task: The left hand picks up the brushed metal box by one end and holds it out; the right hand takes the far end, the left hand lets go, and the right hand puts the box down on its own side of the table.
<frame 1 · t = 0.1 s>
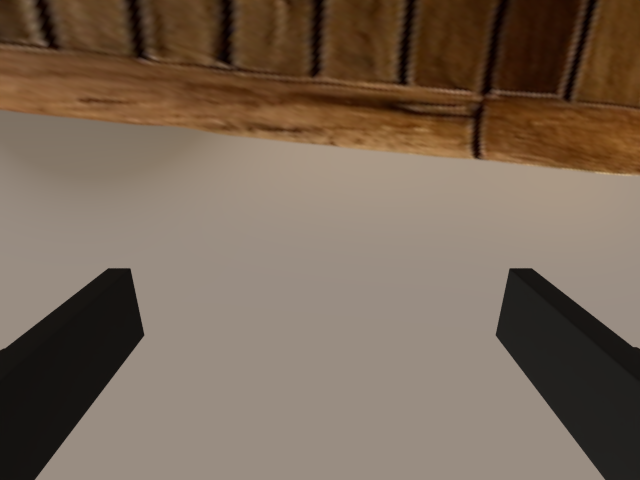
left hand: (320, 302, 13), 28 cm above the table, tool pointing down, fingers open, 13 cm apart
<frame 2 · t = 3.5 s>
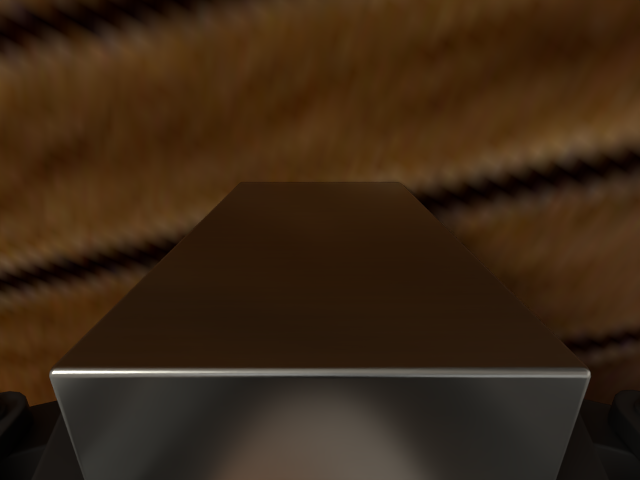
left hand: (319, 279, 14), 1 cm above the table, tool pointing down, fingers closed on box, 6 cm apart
box: (320, 412, 18), on the table, touching left hand
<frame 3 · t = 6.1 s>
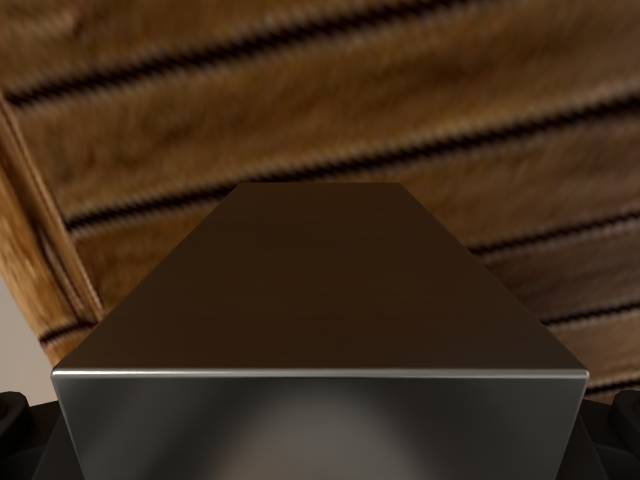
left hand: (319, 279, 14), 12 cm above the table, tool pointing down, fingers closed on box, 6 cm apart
box: (320, 412, 18), point 11 cm above the table, touching left hand
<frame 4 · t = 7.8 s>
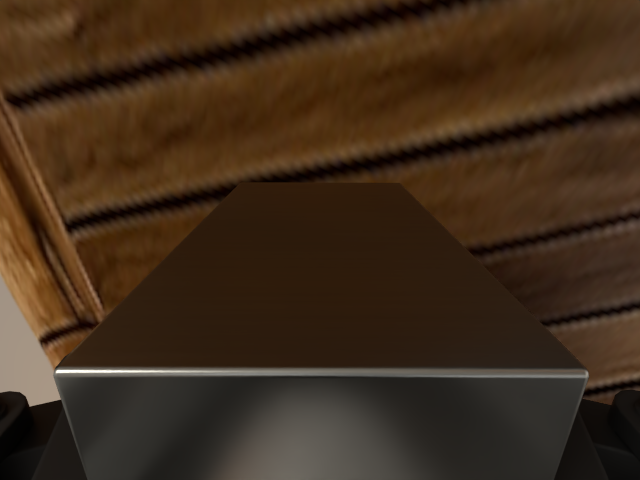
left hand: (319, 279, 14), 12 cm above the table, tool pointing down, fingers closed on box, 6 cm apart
box: (319, 412, 18), point 11 cm above the table, touching left hand, right hand
when the left hand's fingers open (12 cm above the table, at t = 9.0 s): box stays where it is, held by the right hand.
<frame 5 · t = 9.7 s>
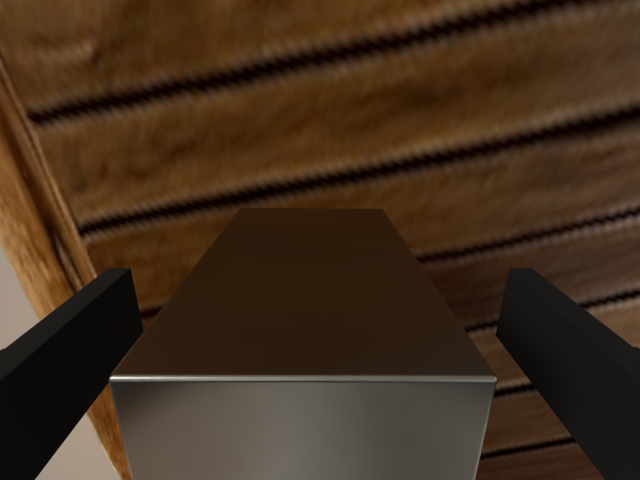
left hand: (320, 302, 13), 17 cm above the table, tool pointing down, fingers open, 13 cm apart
box: (310, 416, 19), point 13 cm above the table, touching right hand
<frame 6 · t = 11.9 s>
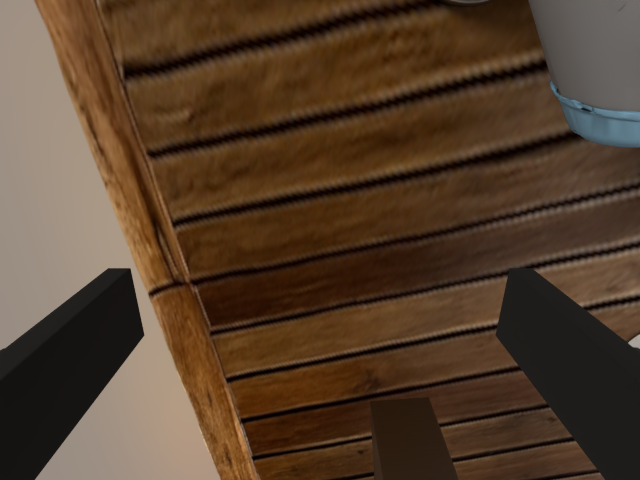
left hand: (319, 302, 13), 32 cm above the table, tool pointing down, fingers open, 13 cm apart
box: (400, 475, 42), point 14 cm above the table, touching right hand
when the right hand's fingers open (6 cm above the table, at t = 15.9 s): box drops 1 cm, on the table.
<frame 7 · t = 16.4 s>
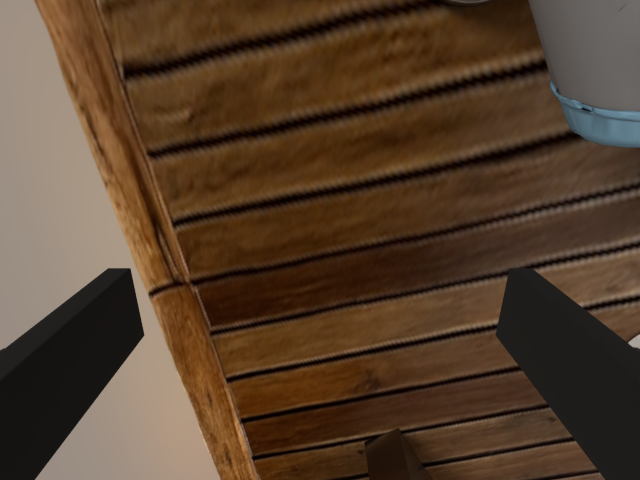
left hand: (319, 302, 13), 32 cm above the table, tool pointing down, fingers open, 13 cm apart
box: (410, 477, 62), on the table
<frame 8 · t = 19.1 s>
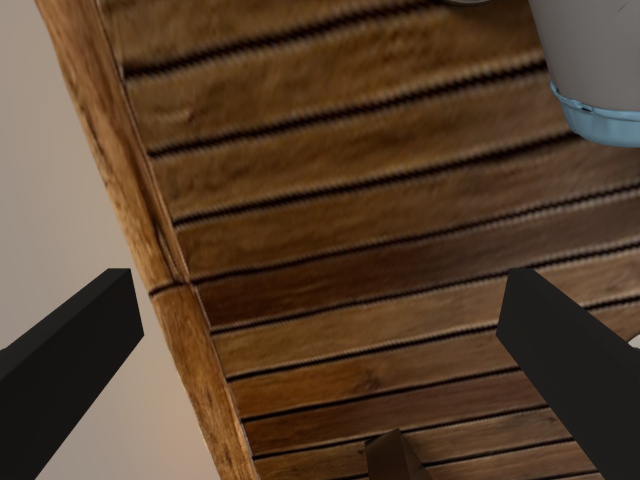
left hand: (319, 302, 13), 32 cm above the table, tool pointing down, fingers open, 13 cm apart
box: (410, 477, 62), on the table
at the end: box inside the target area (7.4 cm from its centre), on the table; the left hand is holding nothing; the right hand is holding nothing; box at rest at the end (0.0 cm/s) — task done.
